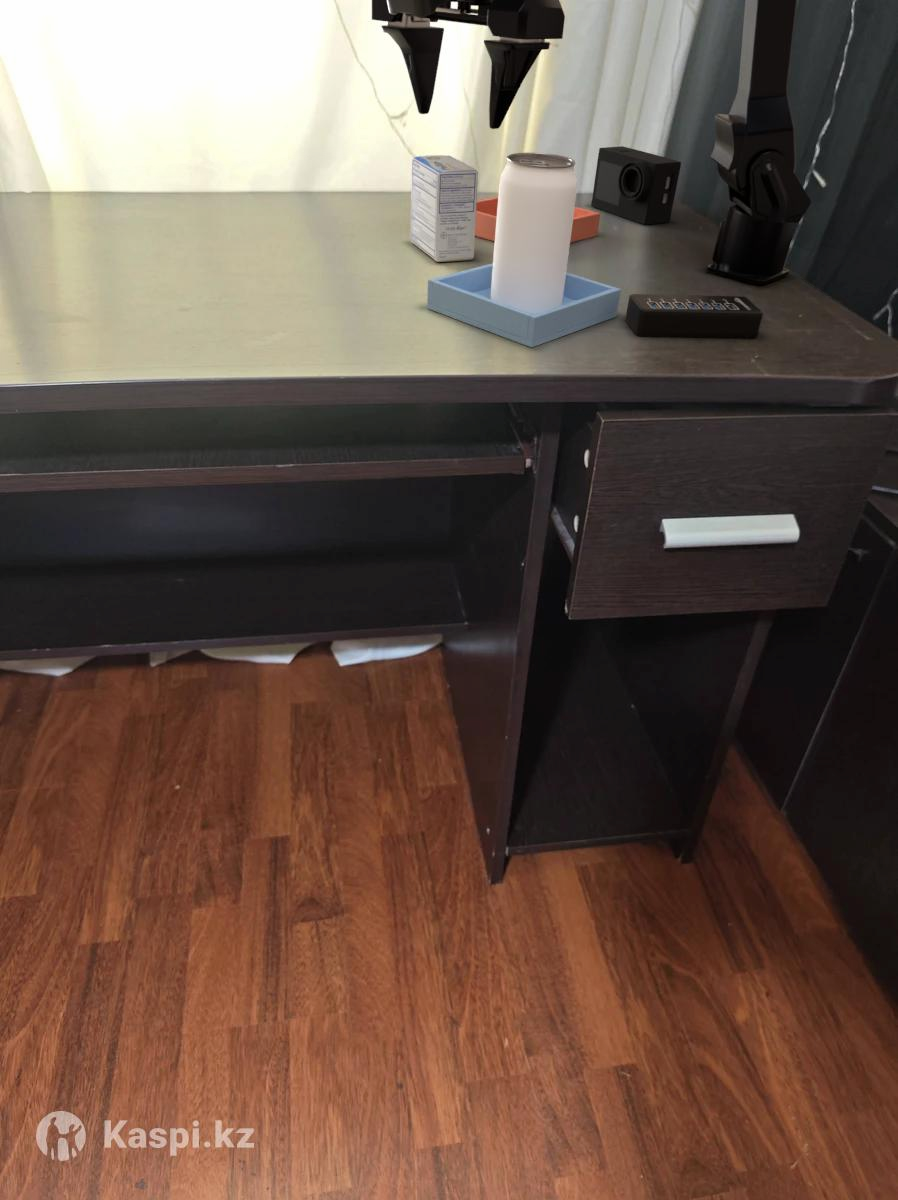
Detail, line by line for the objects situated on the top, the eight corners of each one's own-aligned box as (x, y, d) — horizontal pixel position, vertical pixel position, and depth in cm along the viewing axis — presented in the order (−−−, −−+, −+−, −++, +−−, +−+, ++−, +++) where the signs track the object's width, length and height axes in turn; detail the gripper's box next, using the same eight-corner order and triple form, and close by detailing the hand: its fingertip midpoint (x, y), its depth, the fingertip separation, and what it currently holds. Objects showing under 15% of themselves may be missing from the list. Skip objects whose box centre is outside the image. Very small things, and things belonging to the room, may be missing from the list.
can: (557, 322, 74) (577, 170, 67) (484, 313, 75) (495, 162, 67) (564, 299, 79) (583, 156, 72) (495, 291, 80) (507, 148, 73)
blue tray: (616, 316, 77) (621, 288, 76) (531, 347, 70) (535, 317, 69) (514, 283, 84) (516, 256, 82) (426, 308, 77) (427, 279, 75)
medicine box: (474, 261, 89) (480, 169, 84) (434, 263, 88) (438, 171, 82) (446, 240, 95) (450, 154, 90) (409, 242, 93) (411, 154, 88)
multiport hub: (623, 319, 77) (628, 293, 76) (739, 321, 78) (746, 295, 77) (636, 336, 74) (642, 310, 72) (758, 338, 75) (765, 312, 73)
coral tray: (597, 235, 100) (600, 213, 99) (531, 252, 93) (534, 228, 91) (518, 214, 106) (520, 192, 105) (450, 228, 99) (451, 205, 98)
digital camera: (583, 207, 111) (591, 147, 107) (613, 203, 114) (623, 145, 110) (638, 226, 105) (649, 163, 100) (669, 222, 107) (681, 160, 103)
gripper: (323, -99, 72) (329, 111, 81) (490, -95, 62) (474, 144, 72) (416, -89, 79) (411, 105, 88) (580, -83, 69) (555, 134, 78)
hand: (458, 120), depth 81 cm, fingers open, 9 cm apart
